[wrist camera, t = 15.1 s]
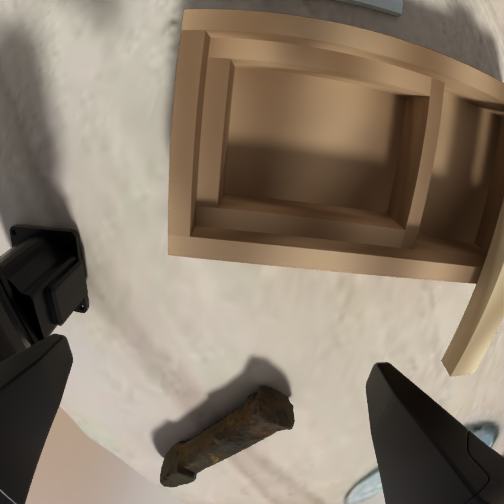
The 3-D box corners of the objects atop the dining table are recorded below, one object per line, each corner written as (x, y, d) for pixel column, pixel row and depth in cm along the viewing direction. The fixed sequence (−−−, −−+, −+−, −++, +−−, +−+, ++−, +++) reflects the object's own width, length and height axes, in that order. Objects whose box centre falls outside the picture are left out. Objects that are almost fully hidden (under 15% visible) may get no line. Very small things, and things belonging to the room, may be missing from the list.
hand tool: (262, 375, 25) (261, 420, 20) (295, 396, 26) (299, 440, 21) (145, 447, 31) (136, 479, 26) (174, 461, 32) (167, 493, 27)
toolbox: (189, 220, 19) (168, 255, 15) (203, 35, 15) (184, 9, 10) (473, 253, 20) (511, 286, 15) (504, 106, 15) (553, 113, 10)
